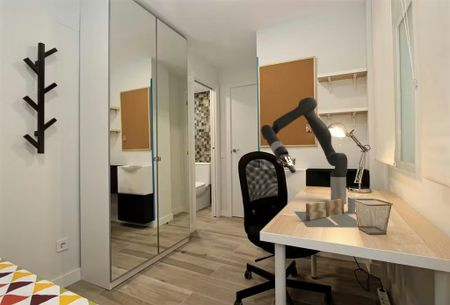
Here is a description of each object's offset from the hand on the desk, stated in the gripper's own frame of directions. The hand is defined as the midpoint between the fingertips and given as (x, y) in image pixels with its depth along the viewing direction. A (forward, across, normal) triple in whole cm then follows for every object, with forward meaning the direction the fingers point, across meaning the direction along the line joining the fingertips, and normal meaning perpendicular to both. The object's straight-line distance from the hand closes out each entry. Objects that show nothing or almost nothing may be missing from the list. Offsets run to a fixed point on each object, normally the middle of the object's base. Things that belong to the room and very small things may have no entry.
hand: (294, 172), depth 122 cm
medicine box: (+27, +32, +7) cm, 42 cm away
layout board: (+26, +9, +7) cm, 29 cm away
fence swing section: (+24, +3, +8) cm, 26 cm away
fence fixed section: (+24, +17, +8) cm, 31 cm away
